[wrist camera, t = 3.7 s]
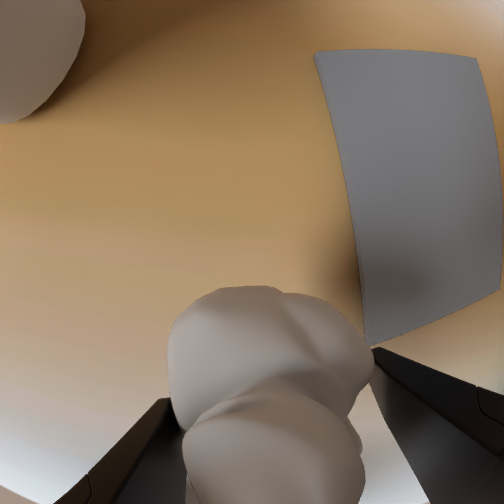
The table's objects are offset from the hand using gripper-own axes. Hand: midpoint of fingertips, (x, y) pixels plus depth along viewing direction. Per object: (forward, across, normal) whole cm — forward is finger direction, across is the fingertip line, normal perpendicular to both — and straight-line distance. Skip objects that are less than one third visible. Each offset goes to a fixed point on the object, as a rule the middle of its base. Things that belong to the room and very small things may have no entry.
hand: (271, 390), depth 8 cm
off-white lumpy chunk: (+2, 0, 0) cm, 2 cm away
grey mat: (+6, -10, -3) cm, 12 cm away
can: (+6, +8, -15) cm, 18 cm away
